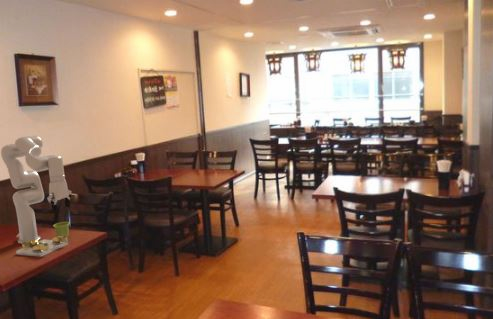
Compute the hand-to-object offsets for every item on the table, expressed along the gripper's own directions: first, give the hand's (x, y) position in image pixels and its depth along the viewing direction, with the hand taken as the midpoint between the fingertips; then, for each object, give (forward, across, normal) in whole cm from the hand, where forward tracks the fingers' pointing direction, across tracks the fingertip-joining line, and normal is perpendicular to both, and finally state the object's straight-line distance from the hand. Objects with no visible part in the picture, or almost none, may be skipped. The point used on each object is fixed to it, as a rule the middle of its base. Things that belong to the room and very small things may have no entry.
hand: (61, 209), depth 241 cm
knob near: (+21, +2, -23) cm, 32 cm away
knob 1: (+21, +7, -11) cm, 25 cm away
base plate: (+24, 0, -18) cm, 30 cm away
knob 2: (+21, -7, -11) cm, 25 cm away
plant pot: (+24, -20, -21) cm, 38 cm away
